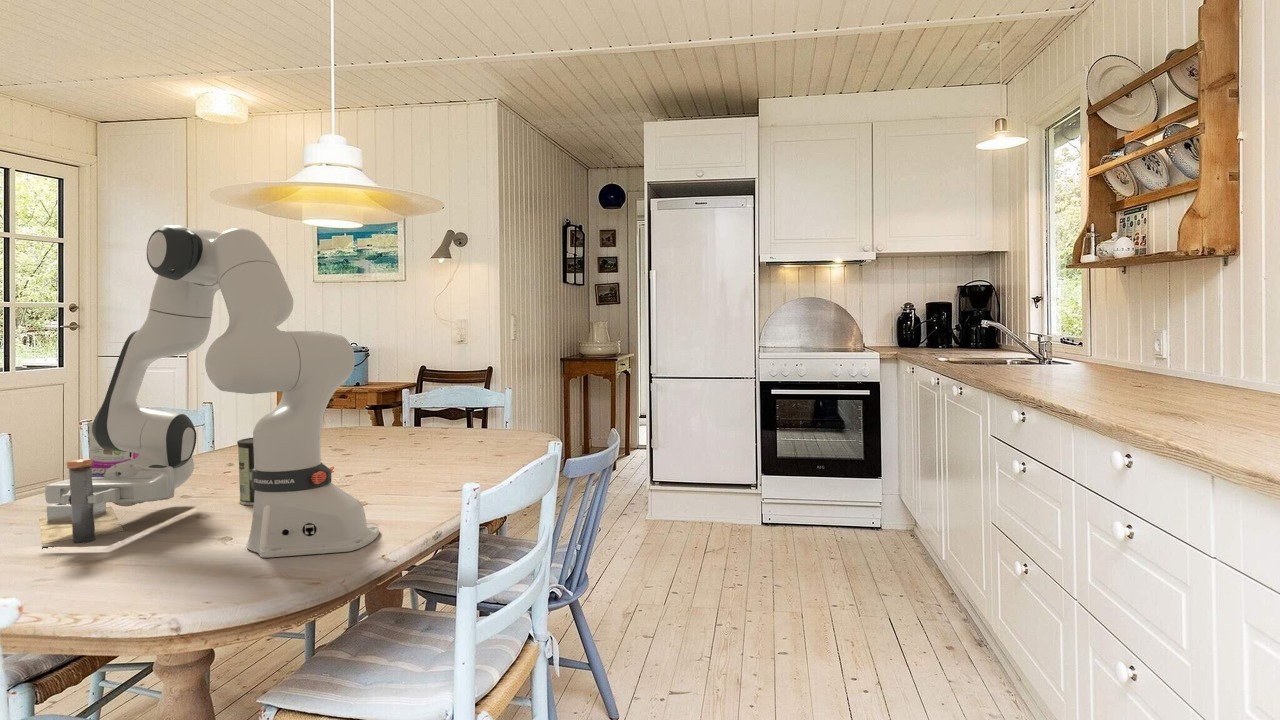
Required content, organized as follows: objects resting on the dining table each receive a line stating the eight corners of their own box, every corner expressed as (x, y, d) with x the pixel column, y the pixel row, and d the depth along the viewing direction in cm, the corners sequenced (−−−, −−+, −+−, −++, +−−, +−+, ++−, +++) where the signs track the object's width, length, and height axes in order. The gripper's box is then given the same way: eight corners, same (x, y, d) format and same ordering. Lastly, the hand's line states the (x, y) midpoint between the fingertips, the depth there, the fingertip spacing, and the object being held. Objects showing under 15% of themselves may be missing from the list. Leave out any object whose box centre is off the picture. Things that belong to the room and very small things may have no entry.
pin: (102, 538, 132) (98, 458, 131) (87, 545, 128) (82, 462, 127) (81, 539, 132) (77, 459, 131) (65, 545, 128) (61, 463, 127)
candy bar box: (147, 482, 181) (144, 418, 181) (132, 487, 176) (129, 421, 176) (105, 482, 182) (102, 418, 181) (89, 486, 177) (85, 421, 176)
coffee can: (299, 495, 167) (298, 436, 166) (268, 507, 157) (266, 443, 156) (261, 493, 169) (259, 435, 168) (228, 504, 159) (226, 442, 158)
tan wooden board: (124, 535, 136) (123, 530, 136) (42, 549, 128) (41, 543, 128) (111, 510, 154) (111, 506, 154) (39, 521, 146) (39, 516, 146)
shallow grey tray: (106, 511, 150) (105, 497, 150) (82, 520, 143) (81, 505, 143) (73, 512, 149) (72, 497, 149) (47, 521, 143) (46, 506, 143)
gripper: (75, 468, 142) (18, 484, 128) (180, 466, 142) (134, 481, 129) (77, 499, 142) (20, 518, 128) (182, 497, 143) (136, 516, 129)
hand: (78, 500), depth 128 cm, fingers closed on pin, 3 cm apart
